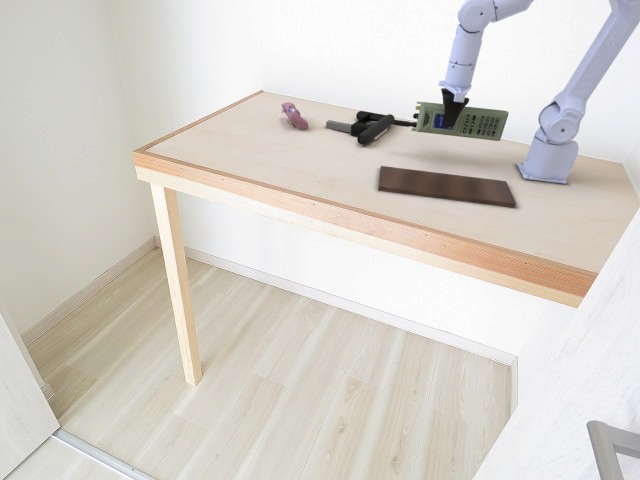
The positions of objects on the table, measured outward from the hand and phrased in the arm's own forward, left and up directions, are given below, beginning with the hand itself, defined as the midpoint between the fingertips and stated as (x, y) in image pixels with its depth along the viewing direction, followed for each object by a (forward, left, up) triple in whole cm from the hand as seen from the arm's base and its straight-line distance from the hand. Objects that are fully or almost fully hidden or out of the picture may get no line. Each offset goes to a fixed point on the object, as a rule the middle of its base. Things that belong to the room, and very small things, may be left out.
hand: (447, 123), depth 97 cm
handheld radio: (0, 0, -3) cm, 3 cm away
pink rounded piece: (+39, -12, -9) cm, 42 cm away
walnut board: (0, +15, -9) cm, 17 cm away
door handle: (+21, -13, -9) cm, 27 cm away
